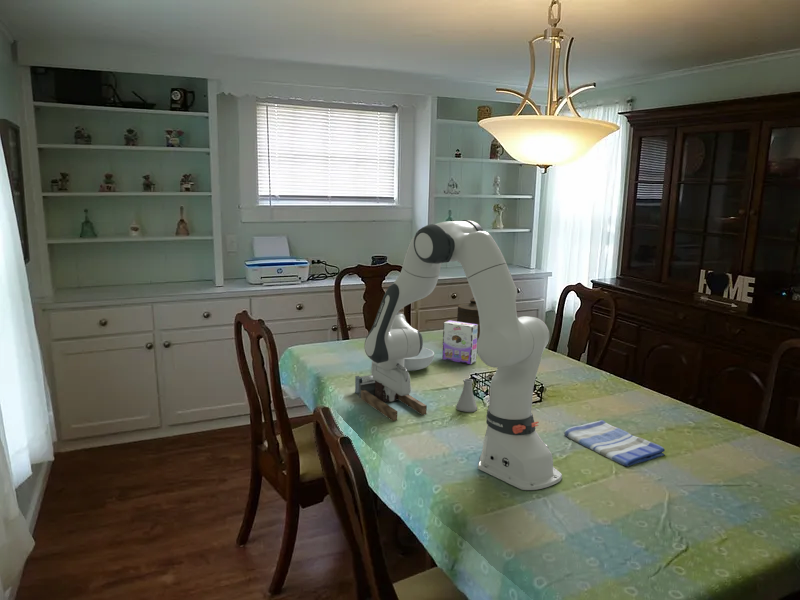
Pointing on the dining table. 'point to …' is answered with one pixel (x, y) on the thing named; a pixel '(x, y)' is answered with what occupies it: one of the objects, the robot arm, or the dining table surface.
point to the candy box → (460, 342)
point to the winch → (362, 381)
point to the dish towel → (614, 443)
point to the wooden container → (469, 314)
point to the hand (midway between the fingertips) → (390, 399)
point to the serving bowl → (419, 360)
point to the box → (382, 392)
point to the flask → (467, 398)
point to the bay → (369, 397)
